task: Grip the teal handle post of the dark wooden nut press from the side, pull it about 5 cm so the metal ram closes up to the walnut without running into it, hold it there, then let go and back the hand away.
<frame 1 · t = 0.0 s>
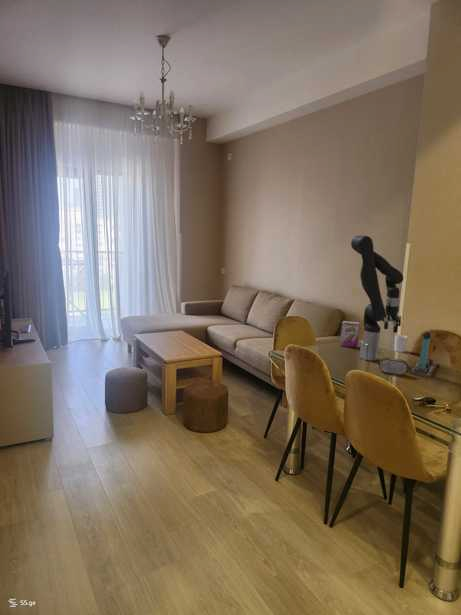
hand: (390, 330, 261), 17 cm above the table, tool pointing down, fingers open, 8 cm apart
white cup: (399, 351, 283), on the table
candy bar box: (348, 346, 287), on the table
press base: (424, 368, 245), on the table
press slider: (425, 350, 236), point 13 cm above the table, slide at 0.0 cm
tin: (392, 374, 233), on the table
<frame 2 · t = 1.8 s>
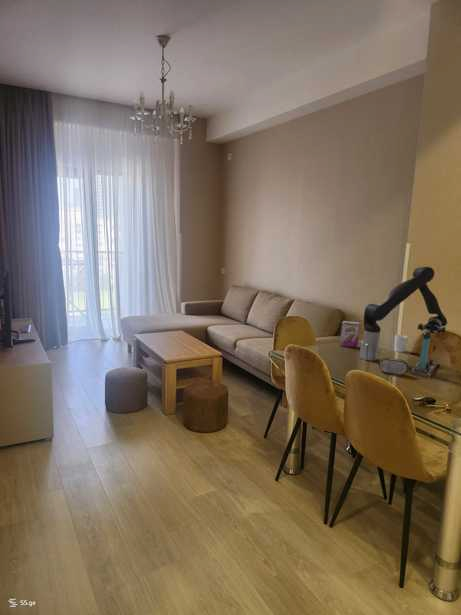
hand: (430, 330, 241), 23 cm above the table, tool horizontal, fingers open, 8 cm apart
nothing on the table moved.
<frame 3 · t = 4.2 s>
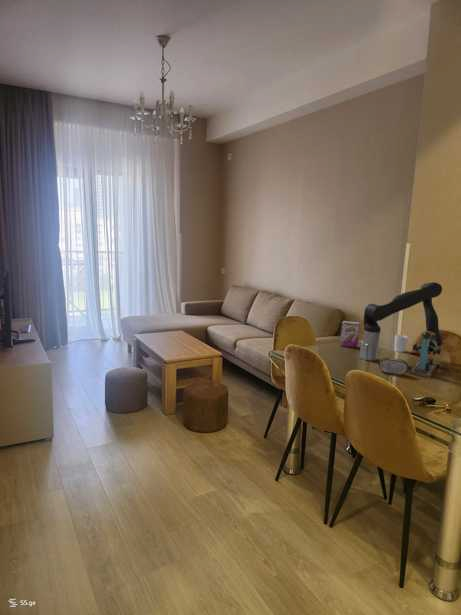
hand: (425, 351, 236), 12 cm above the table, tool horizontal, fingers open, 8 cm apart
nothing on the table moved.
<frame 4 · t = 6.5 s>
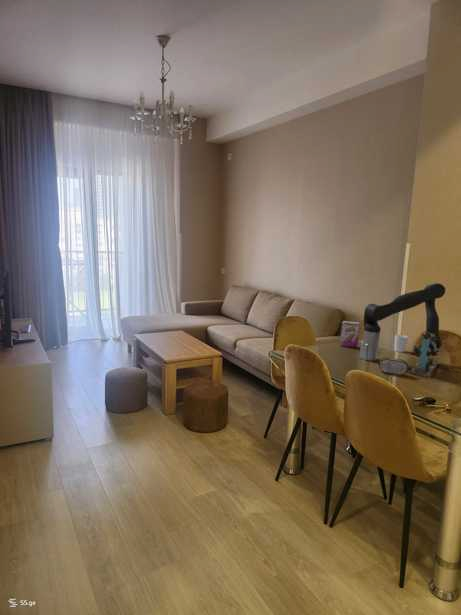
hand: (423, 353, 231), 12 cm above the table, tool horizontal, fingers closed on press slider, 3 cm apart
press slider: (425, 350, 236), point 13 cm above the table, slide at 0.0 cm, touching gripper
everything else where it was.
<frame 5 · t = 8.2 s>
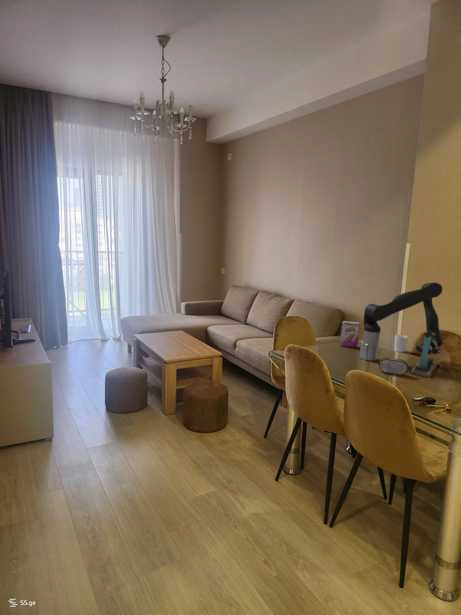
hand: (424, 351, 235), 12 cm above the table, tool horizontal, fingers closed on press slider, 3 cm apart
press slider: (426, 348, 240), point 13 cm above the table, slide at 5.4 cm, touching gripper
everything else where it was.
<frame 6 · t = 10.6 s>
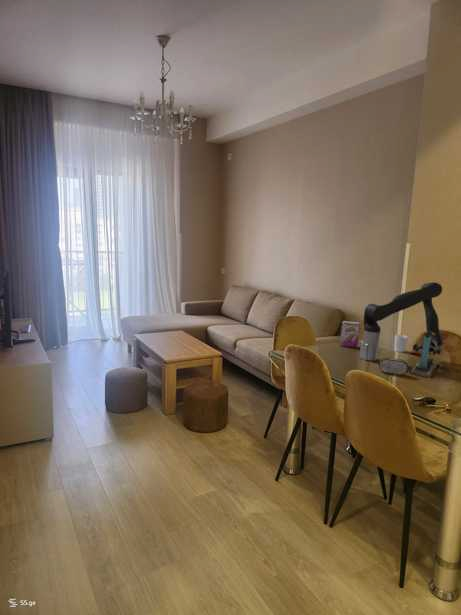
hand: (425, 351, 236), 12 cm above the table, tool horizontal, fingers open, 8 cm apart
press slider: (426, 348, 240), point 13 cm above the table, slide at 5.4 cm
everything else where it was.
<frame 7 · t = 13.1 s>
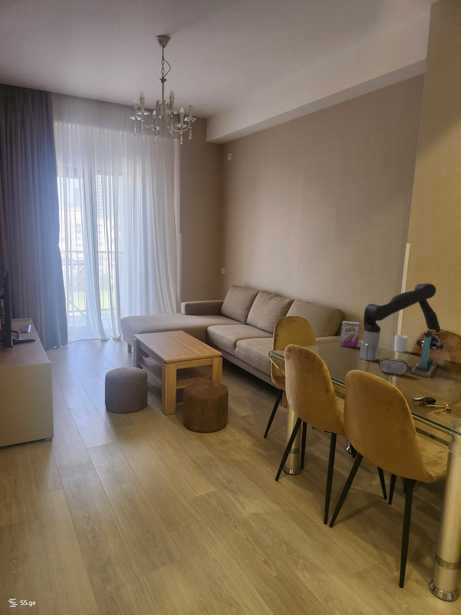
hand: (428, 346, 247), 12 cm above the table, tool horizontal, fingers open, 8 cm apart
nothing on the table moved.
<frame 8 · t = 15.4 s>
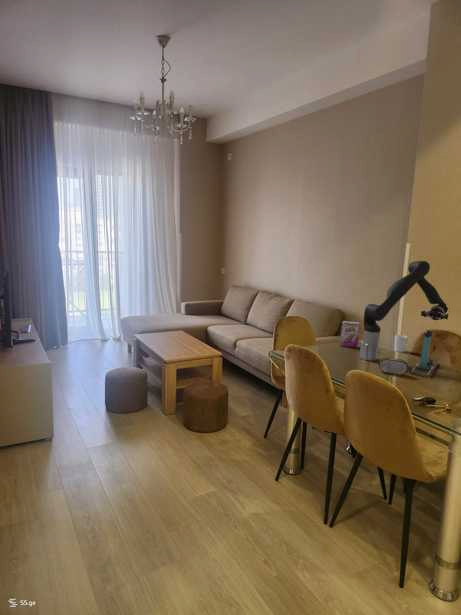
hand: (433, 316, 244), 30 cm above the table, tool horizontal, fingers open, 8 cm apart
nothing on the table moved.
at the end: press slider slide at 5.4 cm; the gripper is holding nothing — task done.
